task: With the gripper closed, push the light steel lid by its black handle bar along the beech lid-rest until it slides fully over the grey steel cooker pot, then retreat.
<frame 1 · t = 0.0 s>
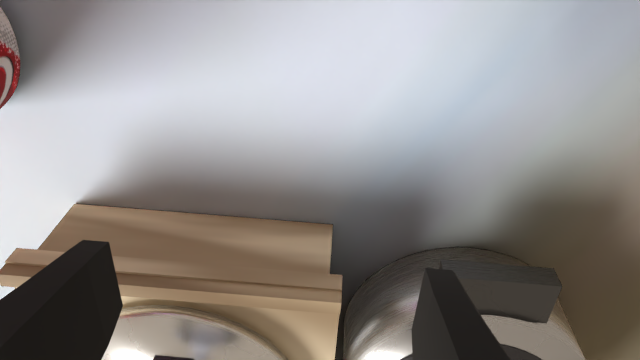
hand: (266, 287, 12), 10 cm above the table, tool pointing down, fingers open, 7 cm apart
lid rest: (211, 309, 27), on the table
cooker: (449, 329, 27), on the table
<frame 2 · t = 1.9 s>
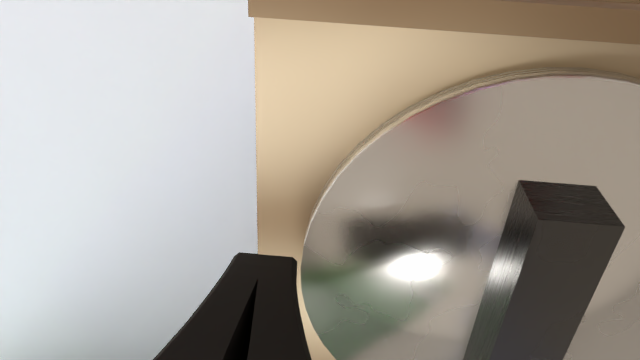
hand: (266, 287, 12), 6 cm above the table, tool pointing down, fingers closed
lid rest: (476, 171, 17), on the table
lid: (524, 299, 12), point 6 cm above the table, slide at 12.5 cm
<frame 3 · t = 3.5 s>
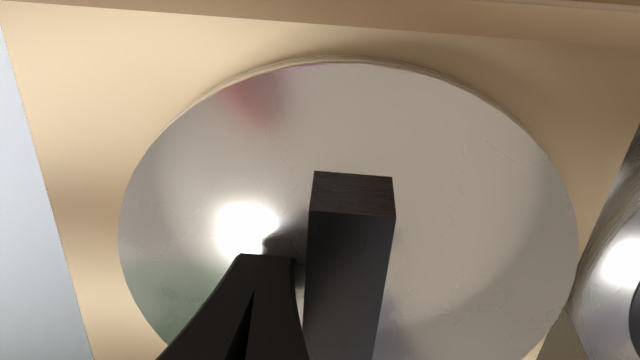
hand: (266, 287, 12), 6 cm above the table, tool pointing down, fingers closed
lid rest: (322, 162, 17), on the table
lid: (341, 293, 12), point 6 cm above the table, slide at 11.7 cm, touching gripper
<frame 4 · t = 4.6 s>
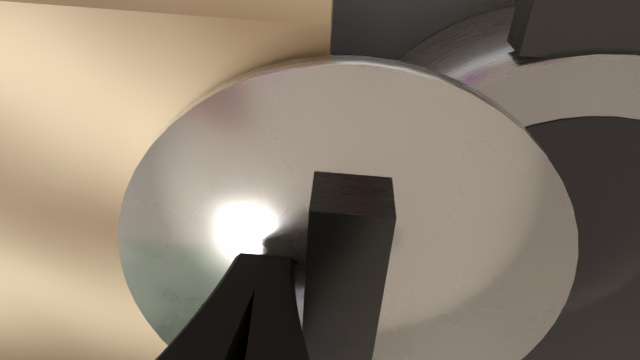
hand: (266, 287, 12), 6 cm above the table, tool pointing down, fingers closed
lid rest: (128, 147, 17), on the table
cooker: (510, 178, 17), on the table
lid: (341, 293, 12), point 6 cm above the table, slide at 5.3 cm, touching gripper
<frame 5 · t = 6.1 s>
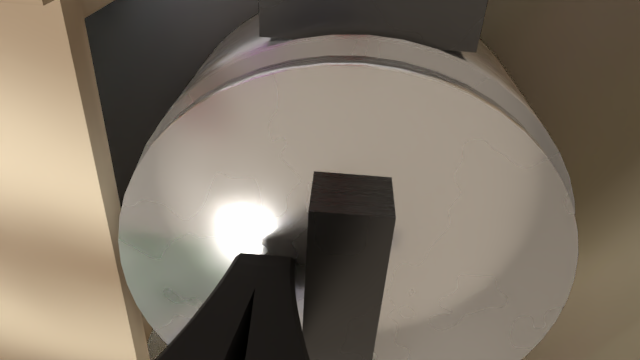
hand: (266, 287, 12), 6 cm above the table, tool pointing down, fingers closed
cooker: (348, 165, 17), on the table
lid: (341, 293, 12), point 6 cm above the table, slide at 0.1 cm, touching gripper
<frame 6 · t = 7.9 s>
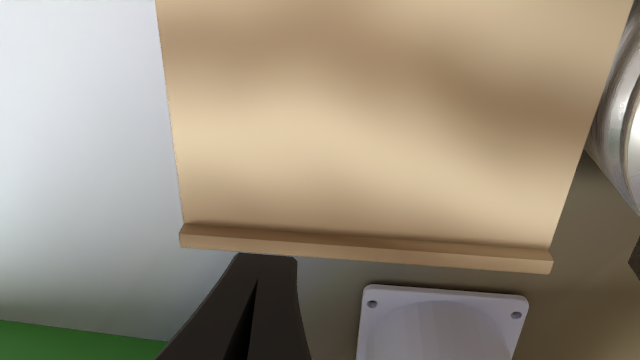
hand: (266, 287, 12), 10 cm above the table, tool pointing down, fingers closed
lid rest: (375, 36, 19), on the table
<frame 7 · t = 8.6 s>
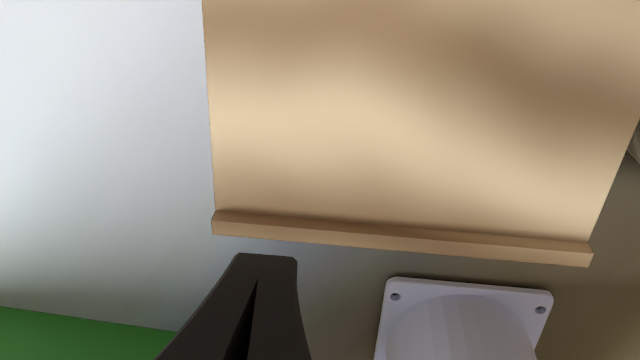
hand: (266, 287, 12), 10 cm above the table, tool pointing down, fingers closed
lid rest: (413, 22, 19), on the table
hardback book: (82, 358, 30), on the table
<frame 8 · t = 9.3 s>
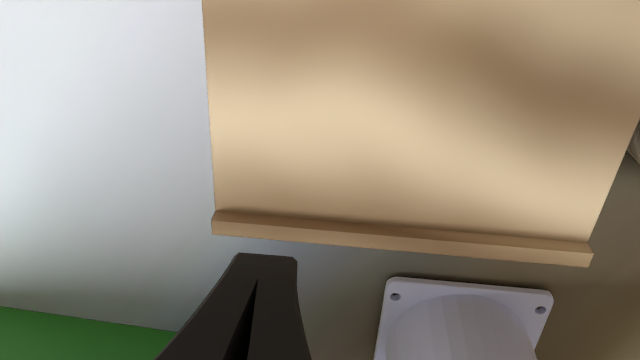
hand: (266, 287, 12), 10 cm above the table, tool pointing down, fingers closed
lid rest: (413, 22, 19), on the table
hardback book: (82, 358, 30), on the table
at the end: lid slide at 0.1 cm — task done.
